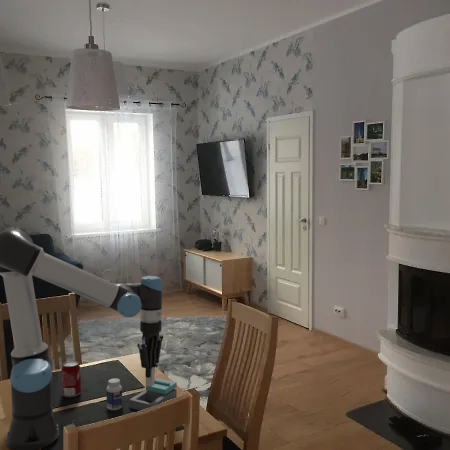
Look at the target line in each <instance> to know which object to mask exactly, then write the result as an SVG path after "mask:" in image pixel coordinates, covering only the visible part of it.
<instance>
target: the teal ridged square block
mask: <svg viewBox="0 0 450 450" xmlns="http://www.w3.org/2000/svg"><path fill="white" fill-rule="evenodd" d="M176 388H177V382H176V381H172V380H167V379H163V378H154V386H148V385H146V384H145V390H147V391H152V392H156V393H161V394H167V393H168V392H170V391H171V390H173V389H176Z"/></svg>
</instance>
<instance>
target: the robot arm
mask: <svg viewBox="0 0 450 450" xmlns="http://www.w3.org/2000/svg"><path fill="white" fill-rule="evenodd" d="M0 276H2V279H3V284H4V291H5V292H4V293H5V298H6V302H7V308H8V314H9V319H10V327H11V332H12V337H13V343H14V348H13V349H12V351H11V352H10V357H11V362H12V368H11V371H10V376H9V379H10V380H9V381H10V387H11V390H10V391H11V392H10V393H11V415H12V418H11V421H10V425H9V430H8V432H7V434H6V444H7V447H8V448H9V449H11V450H40V449H44V448H46V446H47V447H48V445H49V446H50V444H51V443H52V444H54V443H55V442H56V441H57V440H58V439H59V437H60V428H59V424H58V422H57V419H56V416H55V415H54V411H53V386H52V385H53V382H52V381H53V379H52V378H53V362H52V359H51V356H50V355H51V354H50V349H49V345H48V344H47V343H45V342H44V341H43V339H42V337H43V336H42V331H41V325H40V319H39V312H38V305H37V300H36V299H37V298H36V293H35V287H34V281H33V277H36V278H38V279H41V280H43V281H46V282H48V283H51V284H52V285H55V286H57V287H59V288H62V289H65V290H67V291H69V292H71V293H74V294H77V295H79V296H81V297H84V298H85V299H88V300H90V301H93V302H96V303H97V304H100V305H101V306H102V305H103V306H104V307H107V308H110V309H111V310H114V311H116V312H118V313H119V314H120V315H121V316H122V317H124V318H129V319H130V318H133V317H136V316H137V315H138V314H139V319H140V323H139V330H140V333H142V336H141V342H140V343H139V342H138V343H137V344H136V347H137V348H138V351H139V358H140V359H139V360H140V366H141V368H142V369H145V373H144V374H145V376H144V377H145V386H146V385H148V386H154V380H155V373H156V369H155V368H158V366H159V365H158V364H159V363H160V357H161V349H162V343H163V340H164V335H161V334H160V332H162V326H163V325H162V324H163V323H162V317H163V316H162V315H163V314H162V313H163V311H162V309H163V307H162V304H163V280H162V278H161V277H159V276H156V275H147V276H142V277H141V278H140V281H139V282H136V283H132V282H131V283H127V282H126V283H114V282H111V281H109V280H107V279H104V278H102V277H100V276H97V275H95V274H93V273H91V272H89V271H87V270H85V269H83V268H82V269H81V268H79V267H78V266H76V265H74V264H71V263H69V262H67V261H64V260H62V259H60V258H57V257H55V256H53V255H50V254H49V253H46V252H45V251H44V248H43V247H41V246H38V245H37V244H35V243H34V242H33V238H32V236H31V234H30V233H28V232H27V231H26V230H25V229H23V228H20V227H18V226H17V227H16V226H14V227H13V226H10V227H5V228H3V229H1V230H0ZM58 436H59V437H58ZM57 438H58V439H57ZM56 439H57V440H56ZM55 440H56V441H55ZM54 441H55V442H54ZM53 442H54V443H53ZM52 444H51V445H52Z"/></svg>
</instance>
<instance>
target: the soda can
mask: <svg viewBox="0 0 450 450" xmlns="http://www.w3.org/2000/svg"><path fill="white" fill-rule="evenodd" d="M81 372H82V371H81V365H79V361H76V360H68V361H65V362H63V363H62V367H61V396H63V397H65V398H75V397H77V396H79V395H80V394H81V393H82V383H81V382H82V381H81V380H82V379H81V378H82V376H81Z"/></svg>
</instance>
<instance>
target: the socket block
mask: <svg viewBox="0 0 450 450" xmlns="http://www.w3.org/2000/svg"><path fill="white" fill-rule="evenodd" d="M177 390H178V389H176V388H174V389H173V390H171V391H170V392H168V393H167V394H161V393H156V392H152V391H147V390H146V389H144V390H143V391H141V392H140V393H137V394H136V395H135V396H133V397H132V398H129V400H128V401H129V409H133V410H137V411H140V410H142V409H145V408H148V407H151V406H154V405H157V404H160V403H162V402H165V401H167V400H170V399H173V398H175V399H176V398H177V397H178V396H177V395H178V394H177V393H178V391H177ZM173 400H174V399H173Z"/></svg>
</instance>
